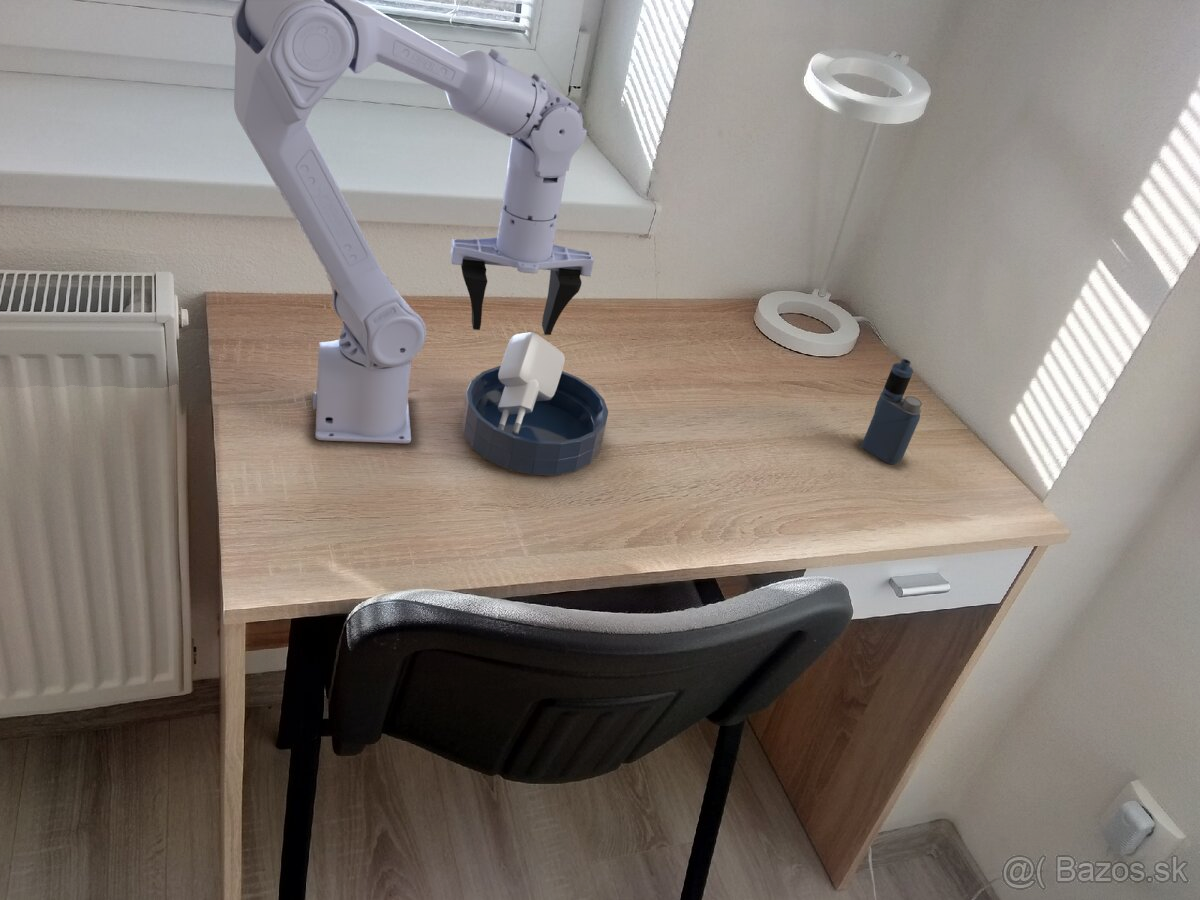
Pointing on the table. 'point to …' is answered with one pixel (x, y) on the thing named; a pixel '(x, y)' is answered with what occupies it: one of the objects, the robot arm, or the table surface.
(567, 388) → the bowl
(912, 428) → the vaping device
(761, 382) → the table surface
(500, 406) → the power adapter
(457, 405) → the table surface
